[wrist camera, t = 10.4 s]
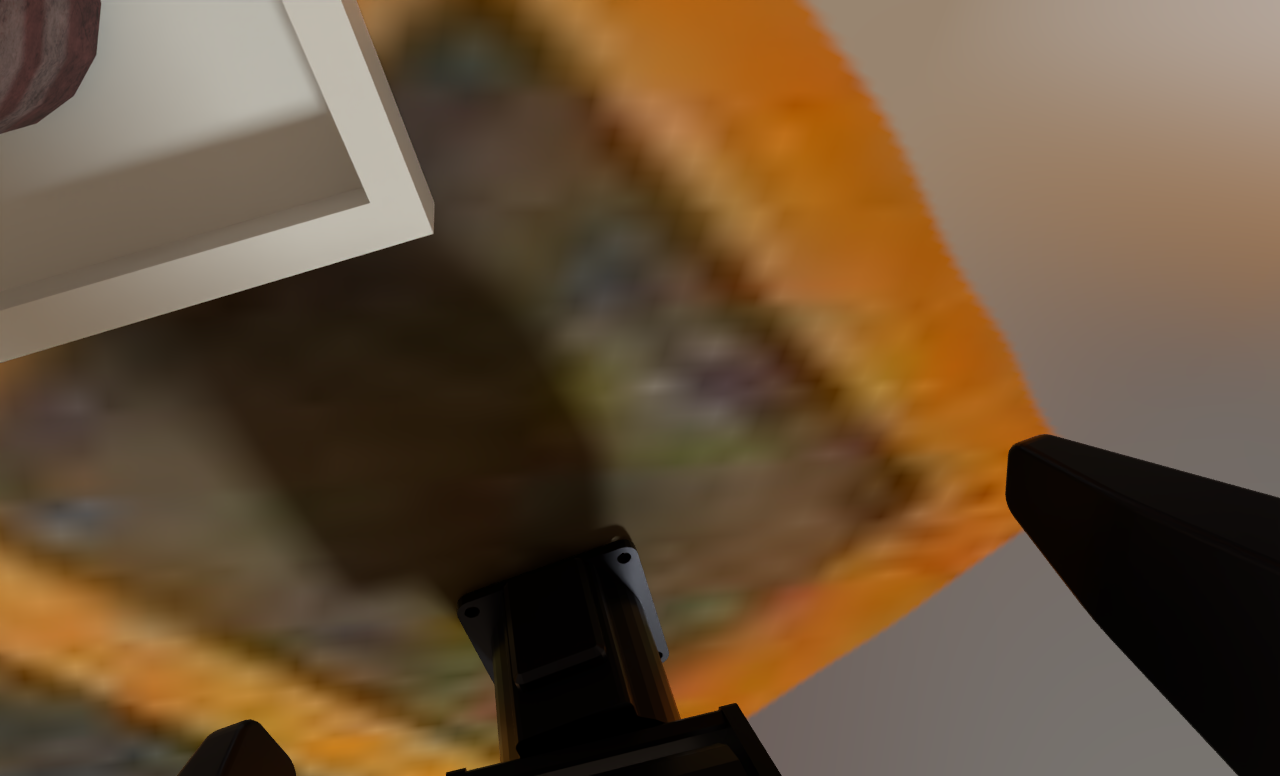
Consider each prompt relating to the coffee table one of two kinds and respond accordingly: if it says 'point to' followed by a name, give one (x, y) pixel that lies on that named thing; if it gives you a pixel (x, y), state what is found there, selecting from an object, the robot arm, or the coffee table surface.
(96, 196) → the tray
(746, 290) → the coffee table surface
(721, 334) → the coffee table surface
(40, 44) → the can
